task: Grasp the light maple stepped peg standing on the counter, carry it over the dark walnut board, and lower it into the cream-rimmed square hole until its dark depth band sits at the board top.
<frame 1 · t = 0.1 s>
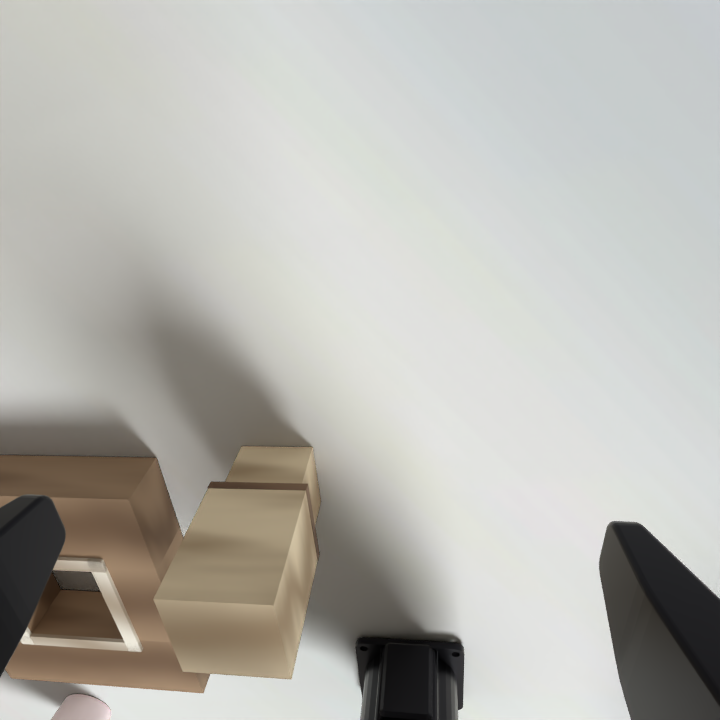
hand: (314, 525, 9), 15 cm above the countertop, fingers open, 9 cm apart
peg: (282, 474, 28), on the countertop
smoothie: (89, 704, 43), on the countertop
board: (89, 559, 33), on the countertop
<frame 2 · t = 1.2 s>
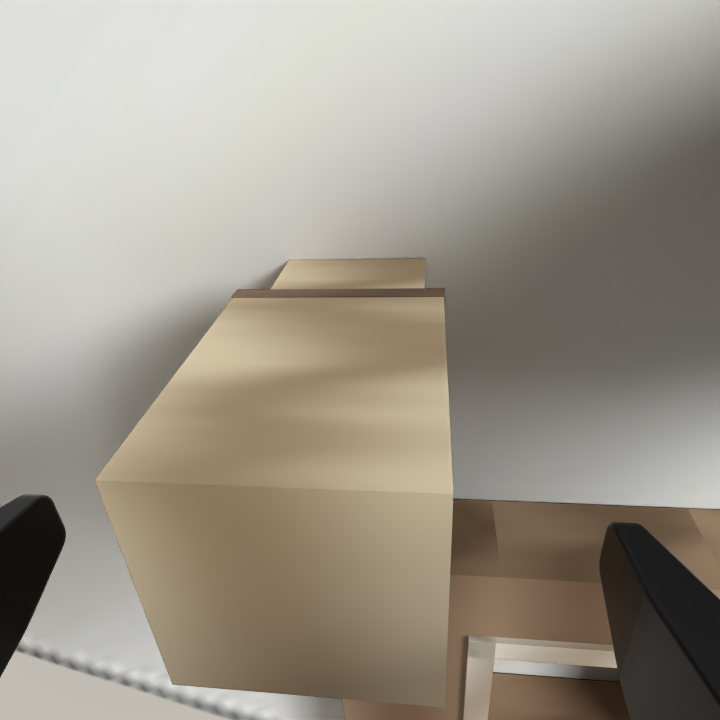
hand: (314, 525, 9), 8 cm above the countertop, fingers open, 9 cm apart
peg: (359, 320, 15), on the countertop
board: (561, 631, 21), on the countertop
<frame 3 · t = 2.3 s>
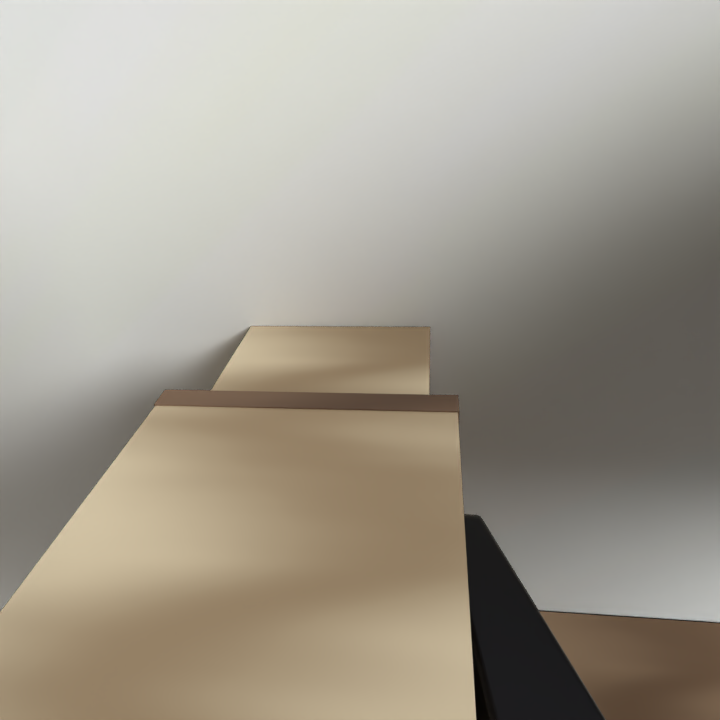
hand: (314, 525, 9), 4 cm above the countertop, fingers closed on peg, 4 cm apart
peg: (344, 401, 12), on the countertop, touching gripper
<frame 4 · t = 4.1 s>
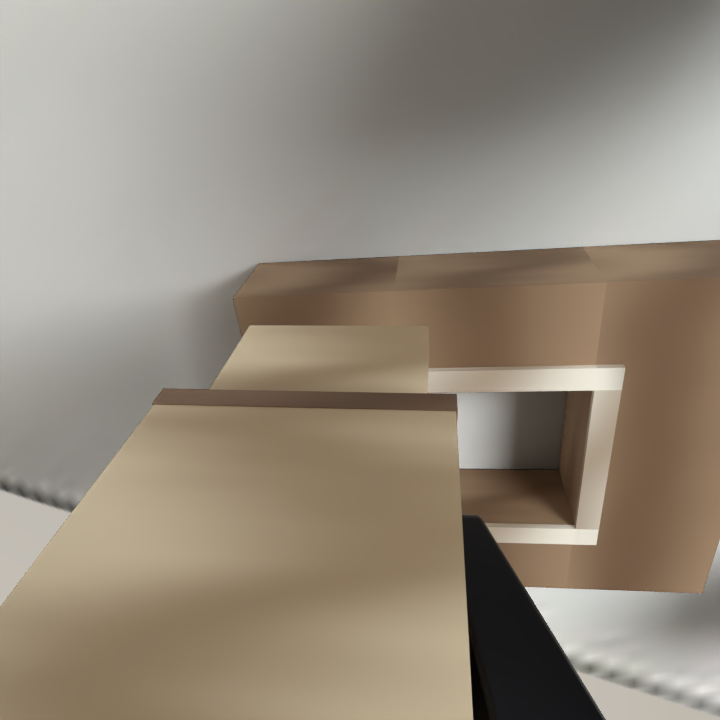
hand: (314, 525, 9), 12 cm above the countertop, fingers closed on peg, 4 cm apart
peg: (343, 400, 12), point 9 cm above the countertop, touching gripper
board: (485, 410, 22), on the countertop
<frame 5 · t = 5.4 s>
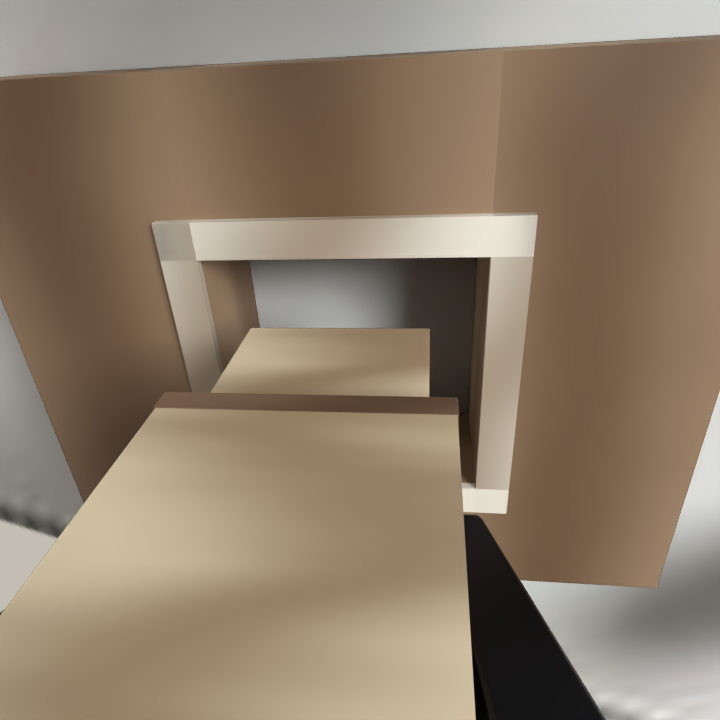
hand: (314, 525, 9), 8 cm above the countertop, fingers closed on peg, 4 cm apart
peg: (344, 403, 12), point 4 cm above the countertop, touching gripper
board: (363, 322, 15), on the countertop
when the fingers open (4 cm above the countertop, at t = 6.3 s): peg stays where it is, resting in board.
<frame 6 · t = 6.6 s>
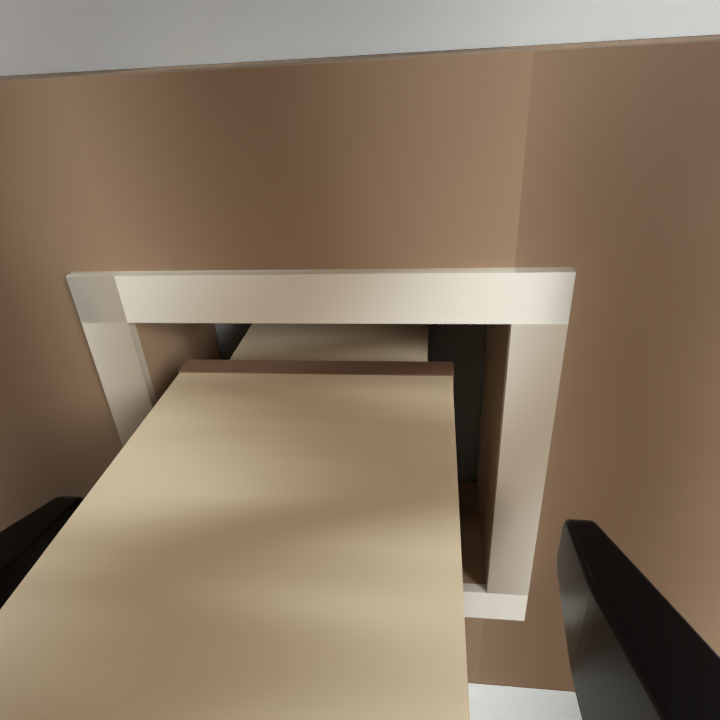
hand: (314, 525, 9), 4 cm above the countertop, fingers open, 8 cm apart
peg: (349, 378, 13), resting in board
board: (350, 378, 13), on the countertop
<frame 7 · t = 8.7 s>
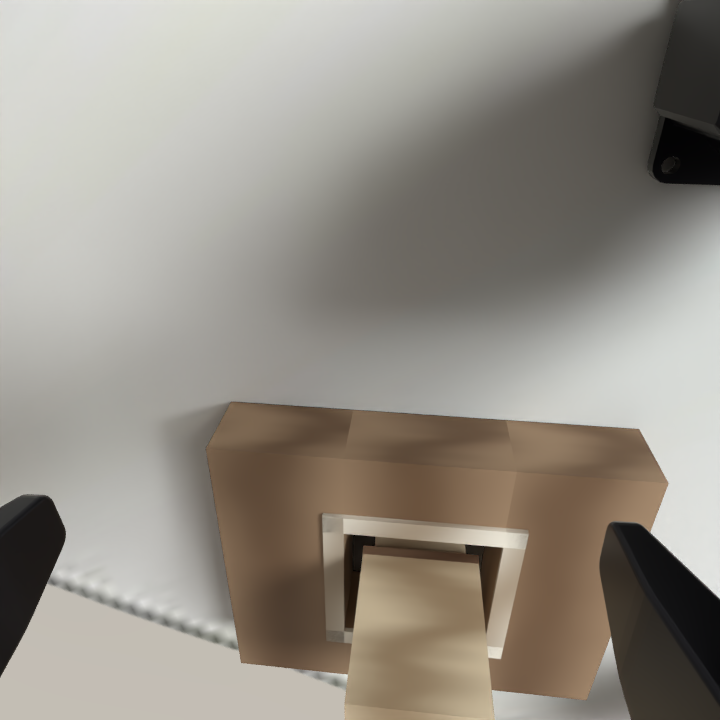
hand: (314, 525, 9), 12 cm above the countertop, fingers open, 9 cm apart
peg: (418, 531, 25), resting in board
board: (418, 532, 25), on the countertop
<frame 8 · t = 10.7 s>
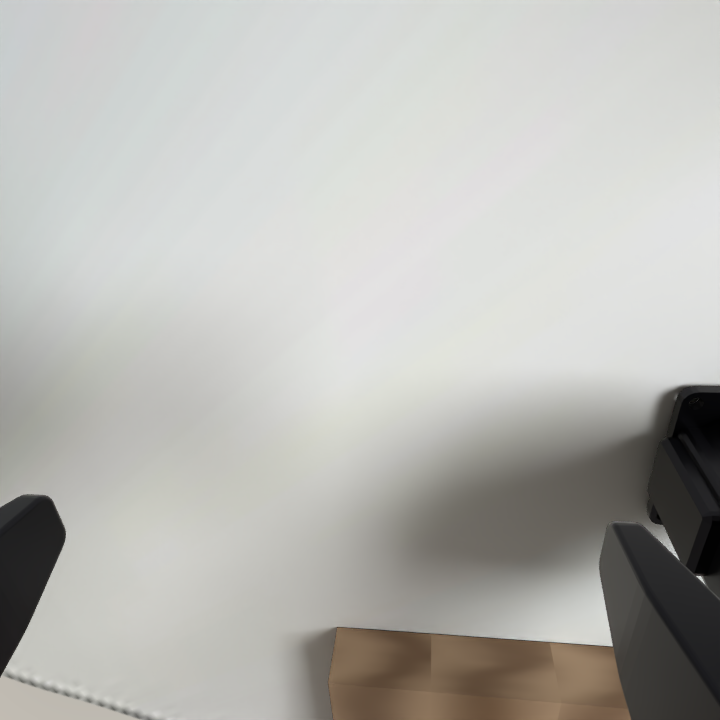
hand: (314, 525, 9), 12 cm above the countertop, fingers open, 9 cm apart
board: (482, 707, 32), on the countertop
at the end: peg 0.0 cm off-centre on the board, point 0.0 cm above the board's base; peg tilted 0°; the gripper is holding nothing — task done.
